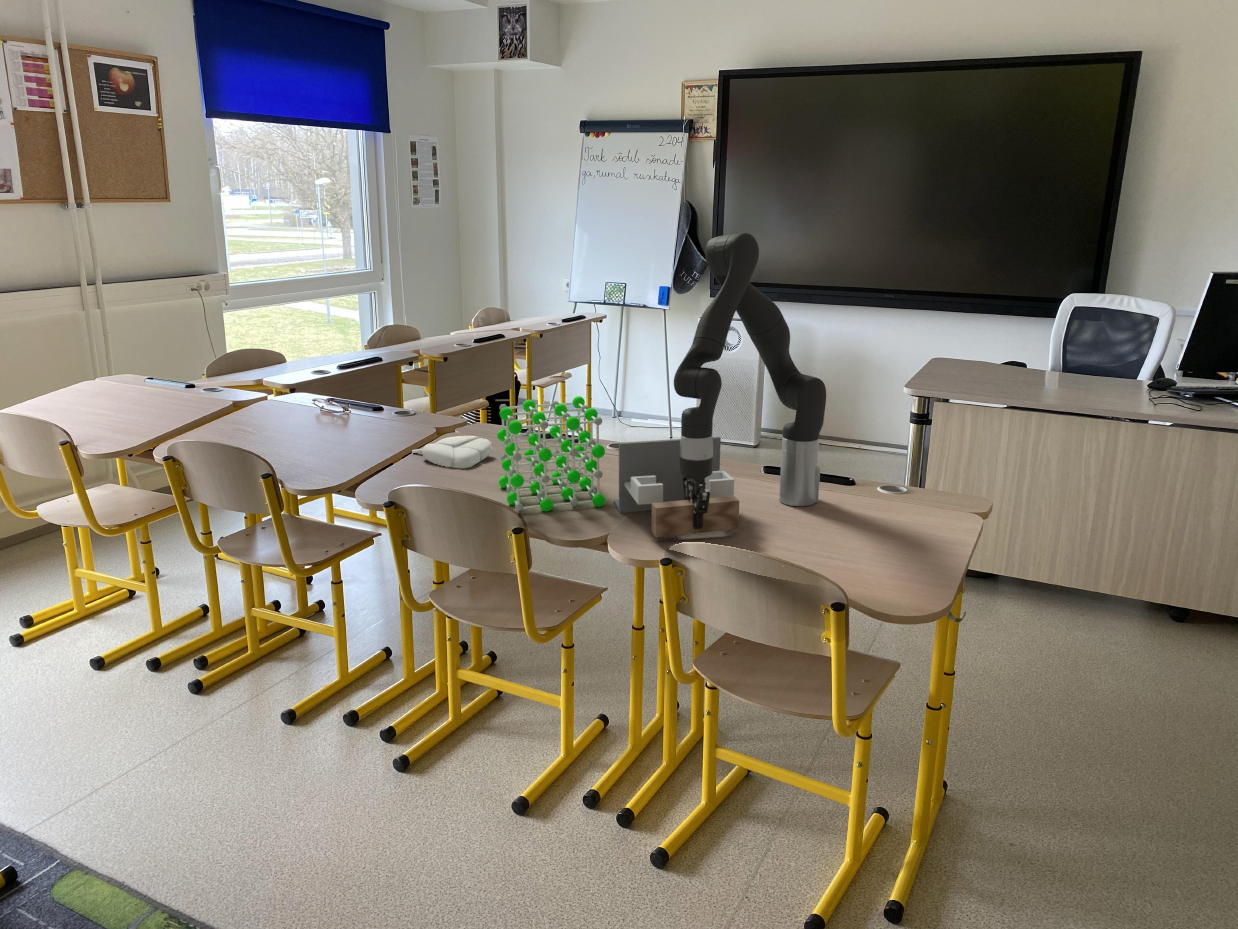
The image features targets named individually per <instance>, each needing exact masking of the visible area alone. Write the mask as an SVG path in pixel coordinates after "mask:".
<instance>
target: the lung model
mask: <svg viewBox="0 0 1238 929" xmlns="http://www.w3.org/2000/svg"><path fill="white" fill-rule="evenodd" d="M492 451H493V442H492V441H490V440H489V439H488V438H487V439H486V438H482V437H479V436H477V435H457V436H456V435H455V436H450V437H445V438H442V439H439V440H438V441H436V442H435V443H427V444H425V445H424V446H423V448H417V449H412V450H411V454H413V453H418V454H422V456H423V458H424V459H425V460H427V461H429V462H430V463H432V464H434V465H436V464H437V466H439V465H441V466H440V467H443V466H445V467H444V468H449V469H450V468H452V469H460V468H461V469H469V468H472V467H473V466H475V465H476V464H478V463H479V462H482V461H483V460H485V459H486V458H488V456H490V454H491V453H492ZM413 455H414V454H413Z"/></svg>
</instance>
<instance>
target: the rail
mask: <svg viewBox="0 0 1238 929" xmlns="http://www.w3.org/2000/svg"><path fill="white" fill-rule="evenodd" d="M694 500H697V499H694ZM700 508H701V507H700ZM739 522H740V500H739V498H737V497H736V496H735V495H734V496H726V497H715V498H709V504H708V510H707V513H703V528H701V529H694V527H693V504H692V503H691V502H690V500H681V501H669V502H658V503H652V511H651V533H652V534H653V536H654V537H656V538H660V537H670V536H671V537H672V536H679V535H680V536H681V535H691V534H693V535H694V534H700V533H702V534H703V533H713V532H722V531H733V530H739V529H740V528H739V526H740V523H739Z"/></svg>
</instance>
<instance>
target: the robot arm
mask: <svg viewBox="0 0 1238 929" xmlns="http://www.w3.org/2000/svg"><path fill="white" fill-rule="evenodd" d="M704 254H705V261H706V263H707V264H706V265H707V266H708V268H709V271H710V273H711V274H712V276H713V277H714V278H715V280H716V282H717V283H718V285H719V286H720V287H721V288H720V290H719V291H718V293H717V294H716V295H715V297H714V298H713V299H712V300H711V302H710V303H709V305H707V307H706V308H705V310H704V311H703V313H702V315H701V316H700V318H699V321H698V323H697V327H696V331H695V333H694V336H693V340H692V344H691V345H690V348H689V349H688V351H687V353H686V354H685V356H684V358H683V359H682V361H681V363H680V364H679V366H678V367H677V370H676V371H675V374H674V377H673V389H674V391H675V393H676V394H677V395H678V396H680V397H682V398H687V399H696V400H700V403H699V405H698V406H694V407H688V408H685V409H683V411H682V413H681V418H680V419H681V421H680V422H681V424H680V430H681V431H680V439H681V440H680V474H681V475H683V477H682V480H683V490H684V500H690V502H691V503H692V504H693V527H694V529H701V528H703V513H707V510H708V504H709V498H710V492H706V490H707V485H706V483H705V478H706V477H708V476H710V475H711V474H712V472H713V439H712V437H713V419H714V414H715V409H716V405H717V402H718V399H719V397H720V392H721V390H722V383H723V382H722V381H723V380H722V378H721V375H720V372H719V371H718V370H717V369H715V368H712V367H702V366H703V365H705V364H707V363H711V362H717V361H719V360H720V359H721V357H722V356H723V351H724V348H725V345H726V343H727V338H728V334H729V330H730V327H731V325H732V323H733V322H732V321H733V318H734V316H735V314H737V315H738V317H739V318H740V321H741V322H742V324H743V327H744V329H745V331H746V332H747V335H748V336H749V339H750V340H751V342H752V343H753V345H754V346H755V349H756V350H757V352H758V355H759V357H760V359H761V360H762V362H763V364H764V365H765V367H766V370H767V372H768V374H769V377H770V379H771V383H772V384H773V387H774V390H775V393H776V395H777V397H778V399H779V401H780V402H781V404H782V405H783V406H785V407H786V408H788V409H791V410H794V411H795V417H794V421H793V422H788V423H786V424H784V425H783V427H782V438H781V439H782V440H781V442H782V443H781V455H780V457H781V458H780V460H781V461H780V475H779V476H780V478H779V479H780V480H779V493H778V494H779V495H778V496H779V497H778V500H779V501H780V503H782V504H784V505H788V506H791V507H793V506H794V507H806V506H812V505H813V504H818V503H819V494H820V478H821V477H820V476H821V467H819V466H818V464H819V463H818V462H819V461H818V459H819V442H820V433H821V430H822V428H823V426H824V422H825V421H824V420H825V412H826V404H827V388H826V384H825V383H824V381H823V380H822V379H821V378H818V377H816V376H812V375H807V374H803V373H801V372H800V371H799V369H798V368H797V366H796V365H795V363H794V361H793V359H792V357H791V354H790V346H791V331H790V328H789V325H788V323H787V321H786V319H785V317H784V315H783V313H782V312H781V309H780V308H779V307H778V305H777V304H776V303H775V302H774V301H773V300H772V299H770V298H769V297H768V296H767V295H766V294H764V293H763V292H762V291H760V290H759V289H758V288H756V287H755V286H754V285H753V284H752V283H751V282H750V281H751V279H752V277H753V274H754V272H755V270H756V268H757V264H758V262H759V257H760V248H759V244H758V241H757V239H756V238H755V237H754V236H753V234H751V233H750V232H749V233H748V232H739V233H738V232H736V233H731V234H724V235H719V236H715V237H713V238H711V239H709V241H707V243H706V245H705V253H704ZM694 499H697V500H694ZM700 507H701V508H700Z"/></svg>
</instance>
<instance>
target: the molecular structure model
mask: <svg viewBox="0 0 1238 929" xmlns="http://www.w3.org/2000/svg"><path fill="white" fill-rule="evenodd" d="M585 403H586V401H585V398H583V397H582V396H580V395H578V396H577V395H576V396H575V397H574V398H573V399H572V402H558V401H557V400H553V401H552V402H551V403H543V404H536V402H534V400H533V399H526V400H524V401H523V404H522V405H515V406H514V405H513V406H507V405H506V403H503V404H502V403H501V404H500V405H499V410H500V411H499V416H500V419H501V427H502V428H501V429H500V430H498V431H497V435H496V436H497V439H498V440H499V441H500V442H502V452H503V453H502V454H501V456H500V460H501V461H502V462H501V468H502V469H503V475H502V476H501V477H500V478H499V479H498V485H499V487H501V488H503V489H506V490H505V491H506V493H507V496H506V500H507V504H510V505H511V506H514V509H515V511H517V512H522V511H523V510H529V509H539V508H540V509H541V511H543V512H550V511H551V510H552V509H553V507H559V506H570V505H571V507H576V506H578V505H580V504H590V503H591V504H593V505H594V506H595V507H597V508H600V507H603V506H604V505H605V503H606V496H605V495H603V494H602V493H601V491H600V483H601V482H600V480H601V478H602V477H603V475H604V474H603V471H602V470H600V459H601V458H603V457H604V456H605V454H606V449H605V447H604V446H603V445H601V444H600V425H602V423H603V419H602V417H601V416H599V417H598V415H599V413H598V410H596V408H594V407H590V408H589V405H586V404H585ZM567 406H573V407H574V408H570V409H569V408H567ZM541 407H543V408H544V407H552V408H553V409H552V410H539V411H538V409H537V408H541ZM512 409H523V410H524V412H522V411H520V412H513V410H512ZM568 412H577V415H571V414H570V413H568ZM581 412H582V413H583V414H581ZM549 413H550V414H551V413H553V416H549V417H546V415H545V414H549ZM520 415H522V416H523V415H527V418H523V419H522V418H520V419H516V417H514V416H520ZM531 416H532V418H531ZM581 418H583V421H581ZM549 420H553V421H554V423H548V421H549ZM558 420H559V423H558ZM563 421H565V422H563ZM521 422H528V424H526V425H522V423H521ZM531 422H532V424H531ZM587 424H589V428H590V429H589V430H590V431H589V430H587ZM593 424H595V425H596V441H595V440H594V435H593V434H594V433H593V432H594V431H593V430H594V429H593V427H594V425H593ZM581 425H583V427H582V426H581ZM563 426H565V429H563ZM548 427H550V429H549V431H546V429H547V428H548ZM527 428H528V429H527ZM536 428H537V431H536ZM523 429H527V431H526V432H524V433H523V432H522V431H523ZM541 430H542V431H541ZM563 433H565V435H563ZM569 433H571V437H569ZM575 433H577V436H575ZM547 434H550V436H551V437H552V438H546V435H547ZM541 435H542V438H541ZM518 436H520V437H521V436H526V437H528V439H527V440H521V441H520V440H519V441H518ZM575 440H578V442H575ZM546 442H554V444H553V445H549V444H548V445H547V444H546ZM558 442H559V444H558ZM520 444H528V446H527V447H524V446H523V447H519V445H520ZM587 446H588V447H589V448H590V450H587V449H588V448H587ZM550 448H555V449H554V451H551V449H550ZM558 448H560V451H559V450H558ZM519 451H524V454H523V455H521V453H520V452H519ZM537 452H538V454H537ZM588 454H590V457H589V456H588ZM569 455H570V456H571V459H569ZM552 457H553V458H555V460H551V459H552ZM537 458H538V459H537ZM594 458H596V460H595V459H594ZM522 459H525V460H526V461H527V462H521V463H520V462H519V461H520V460H522ZM571 462H572V467H571V466H570V465H569V464H570V463H571ZM576 462H578V466H576ZM582 463H584V466H582ZM547 464H555V468H550V469H548V468H547ZM519 466H520V467H521V466H523V467H524V466H529V470H526V471H519ZM582 469H583V470H584V473H583V472H582ZM549 472H551V475H550V476H549V475H548V473H549ZM588 473H589V474H588ZM524 474H525V475H527V474H529V476H528V478H527V479H525V478H524V477H523V475H524ZM533 474H534V476H533ZM564 474H566V475H565V476H564ZM538 477H539V478H538ZM589 477H590V478H589ZM594 477H595V479H596V488H595V486H594ZM564 480H566V482H565V481H564ZM549 481H551V482H552V483H553V484H555V485H549V486H548V483H549ZM524 483H529V487H525V488H521V487H522V486H524ZM543 483H544V486H543ZM570 483H571V484H570ZM576 487H580V488H581V489H582V490H588V491H579V492H576ZM558 488H559V489H561V493H556V494H548V489H558ZM543 490H544V492H543ZM526 491H530V492H531V493H532V494H533V495H535V496H525V497H524V496H523V497H521V496H520V492H526ZM586 494H587V495H588V494H589V495H590V496H592V498H591V500H590V499H589V500H582V501H581V500H580V501H579V500H578V499H577V498H576V496H577V495H578V496H579V495H586ZM556 497H561V498H562V499H563V500H566V501H569V502H561V503H559V502H558V503H553V500H552V499H551V498H556ZM534 499H538V500H539V501H540V502H539V505H530V506H524V505H523V504H522V503H521V501H523V500H534Z"/></svg>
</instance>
